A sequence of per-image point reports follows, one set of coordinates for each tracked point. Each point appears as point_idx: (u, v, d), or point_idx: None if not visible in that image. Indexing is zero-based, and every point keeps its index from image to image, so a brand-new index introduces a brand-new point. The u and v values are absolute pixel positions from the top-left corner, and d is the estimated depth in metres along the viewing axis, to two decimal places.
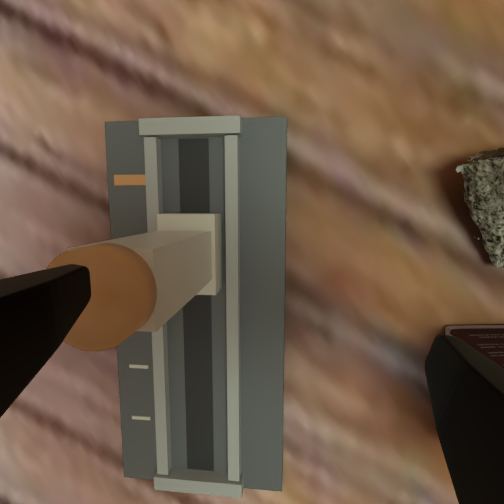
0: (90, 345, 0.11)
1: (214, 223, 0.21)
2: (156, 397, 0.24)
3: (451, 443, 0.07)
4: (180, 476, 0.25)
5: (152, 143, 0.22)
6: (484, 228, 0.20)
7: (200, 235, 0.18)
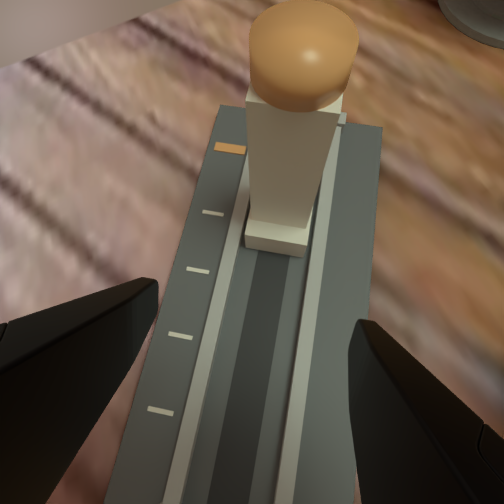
0: (295, 71, 0.10)
1: None
2: (196, 374, 0.18)
3: (356, 422, 0.07)
4: None
5: None
6: None
7: None
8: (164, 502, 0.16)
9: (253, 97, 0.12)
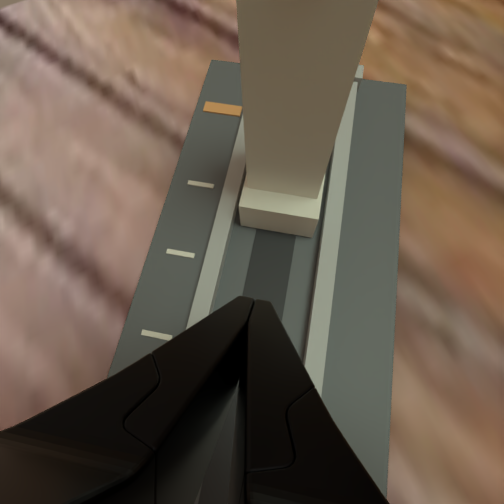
0: None
1: None
2: None
3: (237, 397, 0.07)
4: None
5: None
6: None
7: None
8: None
9: None
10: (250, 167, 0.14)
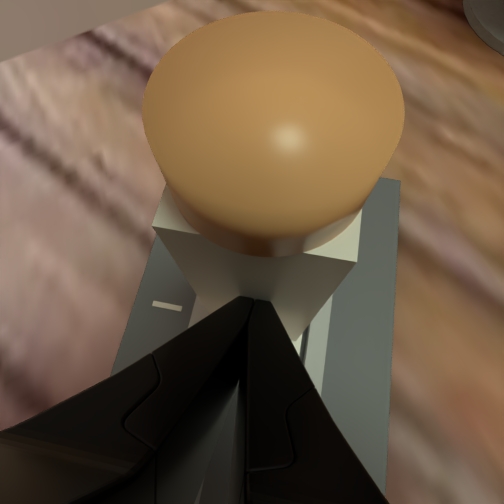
0: (247, 194, 0.04)
1: None
2: None
3: (237, 396, 0.07)
4: None
5: None
6: None
7: None
8: None
9: (169, 218, 0.05)
10: None
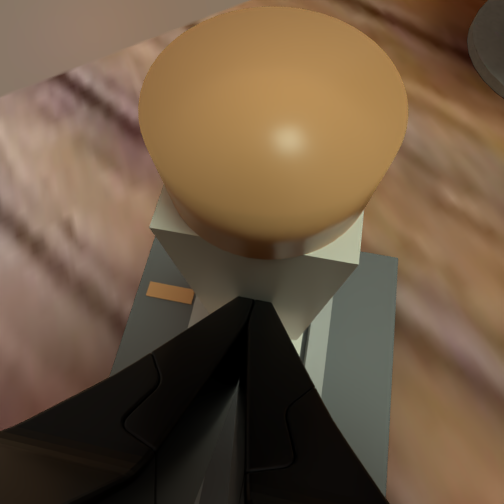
0: (247, 195, 0.04)
1: None
2: None
3: (237, 397, 0.07)
4: None
5: None
6: None
7: None
8: None
9: (167, 219, 0.05)
10: None
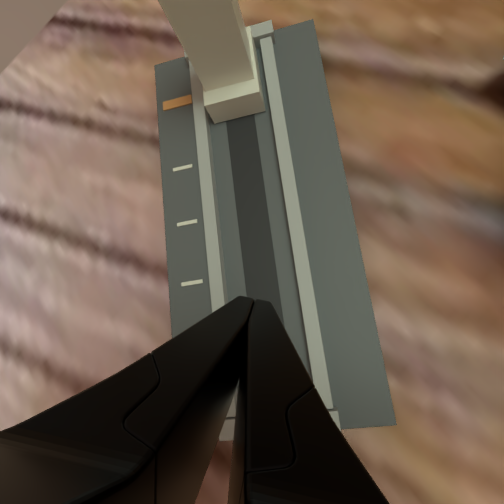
0: None
1: (250, 34, 0.22)
2: (214, 307, 0.20)
3: (237, 396, 0.07)
4: None
5: None
6: None
7: (238, 3, 0.20)
8: None
9: None
10: (199, 72, 0.20)
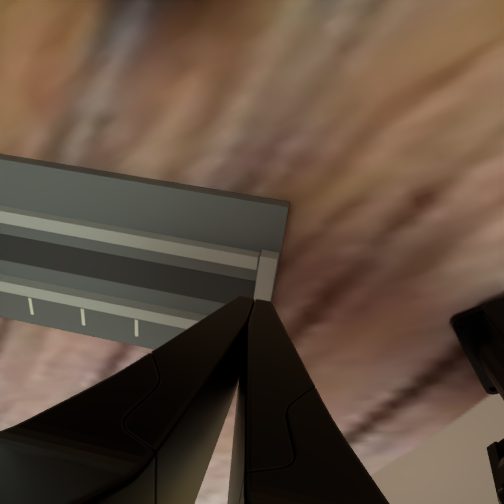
0: None
1: None
2: (157, 321, 0.23)
3: (237, 397, 0.07)
4: None
5: None
6: None
7: None
8: None
9: None
10: None
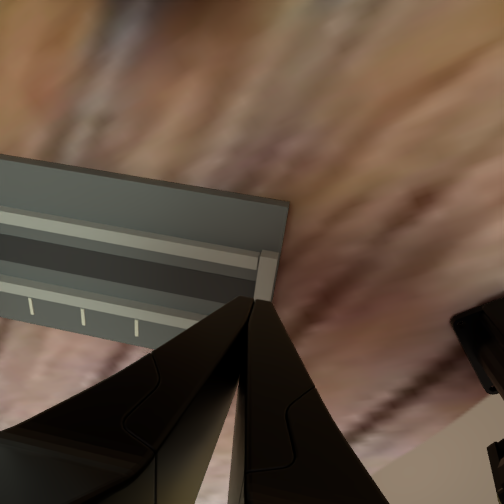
0: None
1: None
2: (157, 321, 0.23)
3: (237, 396, 0.07)
4: None
5: None
6: None
7: None
8: None
9: None
10: None
